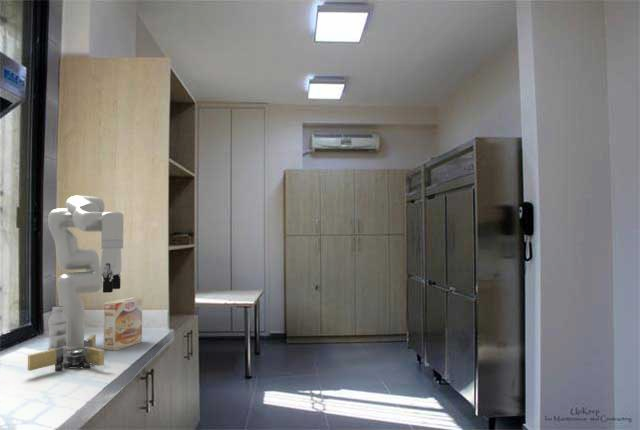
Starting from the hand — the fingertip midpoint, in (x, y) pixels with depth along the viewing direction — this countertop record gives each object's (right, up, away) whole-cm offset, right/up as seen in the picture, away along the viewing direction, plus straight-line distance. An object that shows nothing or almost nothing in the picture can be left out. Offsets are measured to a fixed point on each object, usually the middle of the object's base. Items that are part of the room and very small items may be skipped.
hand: (111, 290), depth 161 cm
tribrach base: (-11, -27, -3) cm, 29 cm away
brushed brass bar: (-17, -26, -12) cm, 34 cm away
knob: (-12, -27, +7) cm, 31 cm away
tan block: (-2, -26, -9) cm, 28 cm away
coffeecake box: (-7, -28, +24) cm, 38 cm away
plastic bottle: (-24, -28, +5) cm, 37 cm away
